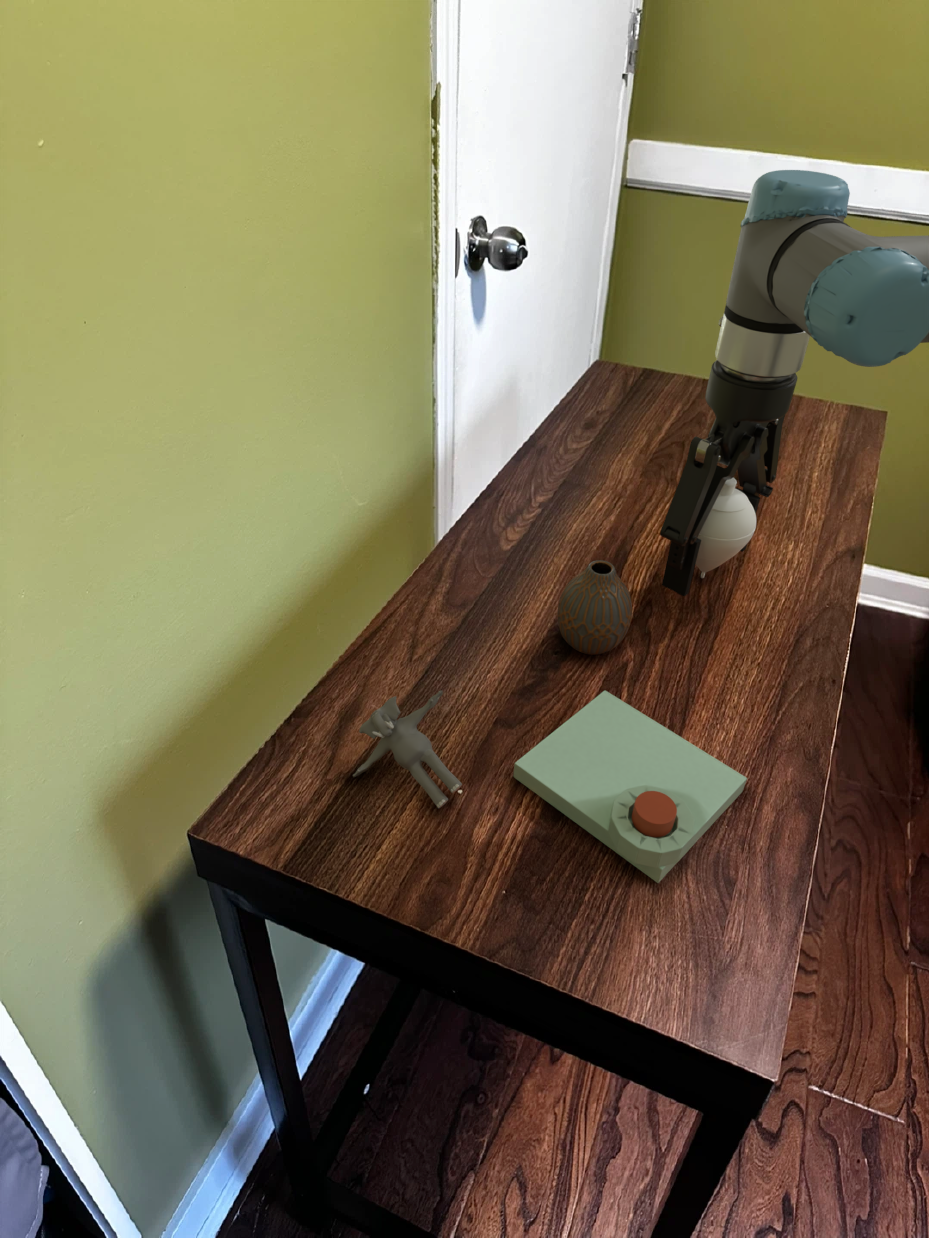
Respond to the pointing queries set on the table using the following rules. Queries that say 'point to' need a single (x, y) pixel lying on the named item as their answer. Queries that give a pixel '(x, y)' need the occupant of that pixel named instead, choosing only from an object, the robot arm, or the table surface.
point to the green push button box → (628, 780)
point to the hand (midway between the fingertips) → (704, 566)
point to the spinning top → (725, 528)
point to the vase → (595, 609)
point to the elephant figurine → (408, 746)
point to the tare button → (654, 814)
